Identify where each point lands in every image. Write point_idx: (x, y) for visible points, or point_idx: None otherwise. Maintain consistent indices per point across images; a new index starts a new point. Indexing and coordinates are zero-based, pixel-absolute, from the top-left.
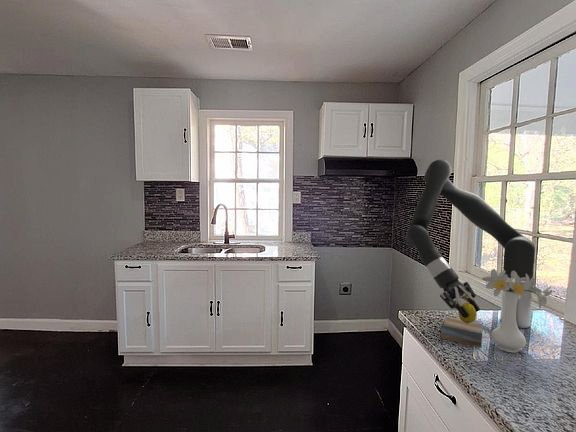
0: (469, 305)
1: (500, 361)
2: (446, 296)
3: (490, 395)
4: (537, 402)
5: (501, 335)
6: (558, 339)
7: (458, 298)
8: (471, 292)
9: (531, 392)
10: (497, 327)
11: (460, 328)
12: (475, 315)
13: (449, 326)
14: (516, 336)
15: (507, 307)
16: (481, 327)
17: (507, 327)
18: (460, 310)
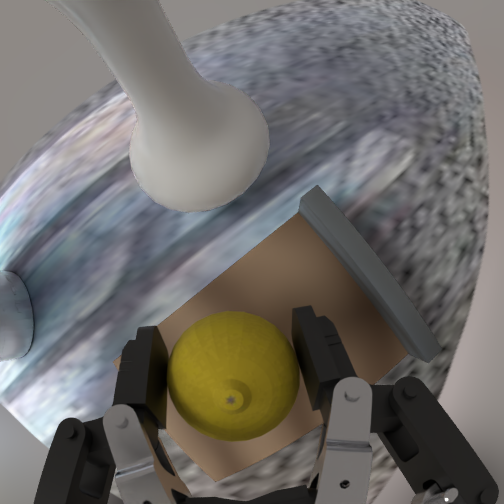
0: (234, 368)
1: (335, 108)
2: (482, 465)
3: (465, 60)
4: (392, 14)
5: (255, 117)
6: (18, 182)
7: (360, 450)
8: (73, 466)
9: (378, 24)
10: (207, 160)
11: (382, 282)
12: (213, 314)
13: (417, 325)
14: (212, 80)
15: (160, 14)
16: None
17: (214, 89)
18: (345, 365)
